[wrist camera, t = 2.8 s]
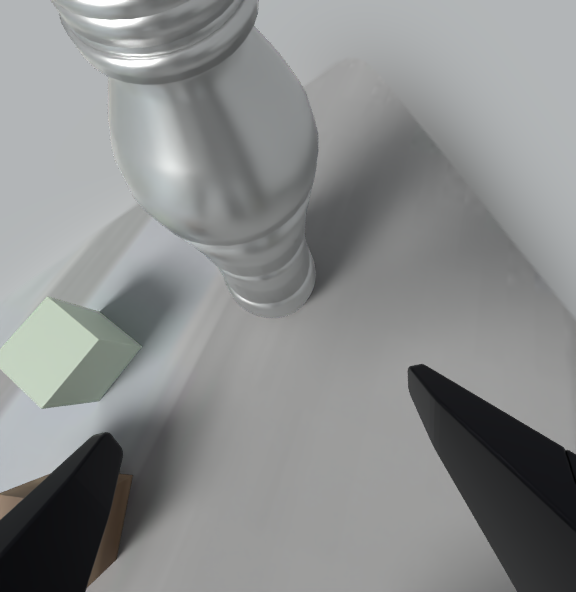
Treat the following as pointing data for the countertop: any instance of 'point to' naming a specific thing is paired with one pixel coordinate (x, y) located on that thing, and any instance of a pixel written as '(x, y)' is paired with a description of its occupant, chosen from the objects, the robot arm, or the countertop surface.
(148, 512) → the countertop surface
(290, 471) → the countertop surface
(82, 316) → the sage block
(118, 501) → the walnut block
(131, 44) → the plastic bottle
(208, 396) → the countertop surface
